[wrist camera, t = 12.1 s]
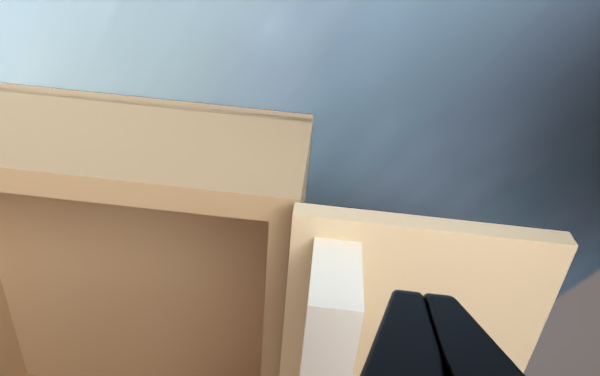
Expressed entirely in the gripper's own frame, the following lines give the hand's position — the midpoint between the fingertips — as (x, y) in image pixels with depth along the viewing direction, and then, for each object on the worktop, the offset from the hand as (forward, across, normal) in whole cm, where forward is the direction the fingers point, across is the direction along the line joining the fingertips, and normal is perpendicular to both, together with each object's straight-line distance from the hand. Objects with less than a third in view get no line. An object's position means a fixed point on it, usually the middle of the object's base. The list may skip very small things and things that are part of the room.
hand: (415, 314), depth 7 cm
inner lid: (+6, -1, +10) cm, 12 cm away
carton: (+12, +9, +10) cm, 18 cm away
